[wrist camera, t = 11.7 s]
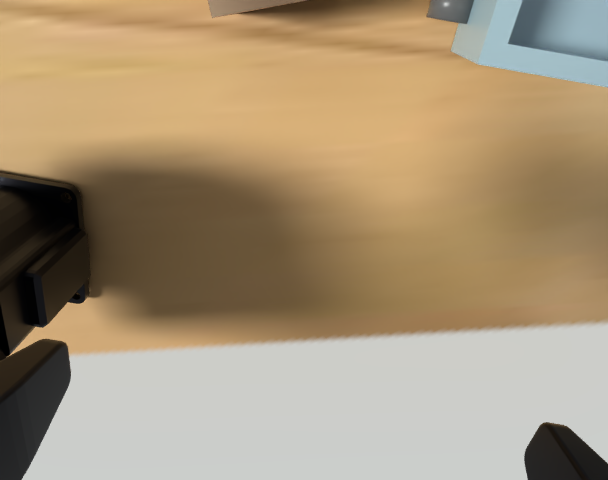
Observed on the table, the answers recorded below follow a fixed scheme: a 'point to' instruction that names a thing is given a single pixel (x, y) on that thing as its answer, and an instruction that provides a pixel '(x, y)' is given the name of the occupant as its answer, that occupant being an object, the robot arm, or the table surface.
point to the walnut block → (243, 6)
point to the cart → (532, 36)
